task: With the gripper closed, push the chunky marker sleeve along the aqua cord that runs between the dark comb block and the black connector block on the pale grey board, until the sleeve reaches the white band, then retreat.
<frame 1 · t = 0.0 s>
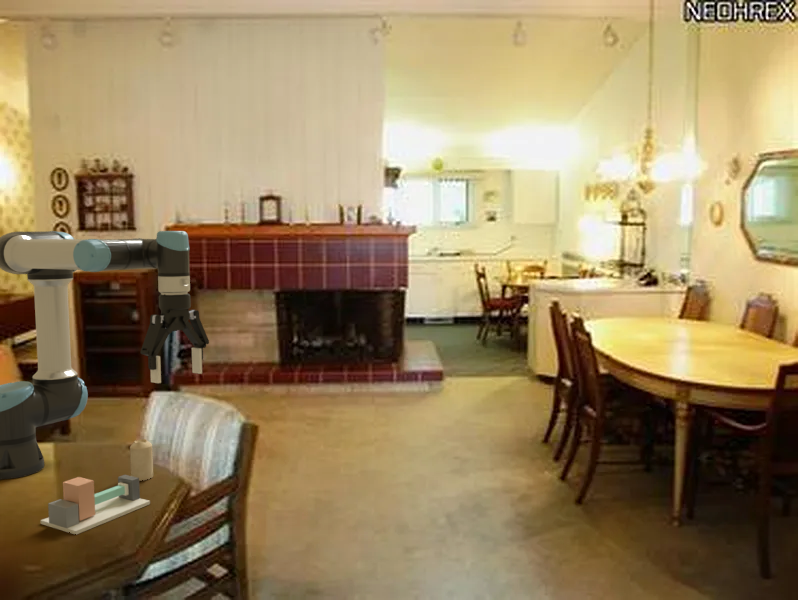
hand: (177, 377, 181), 28 cm above the table, fingers open, 13 cm apart
candle: (142, 478, 190), on the table
board: (97, 513, 166), on the table
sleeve: (79, 498, 161), point 5 cm above the table, slide at 0.0 cm
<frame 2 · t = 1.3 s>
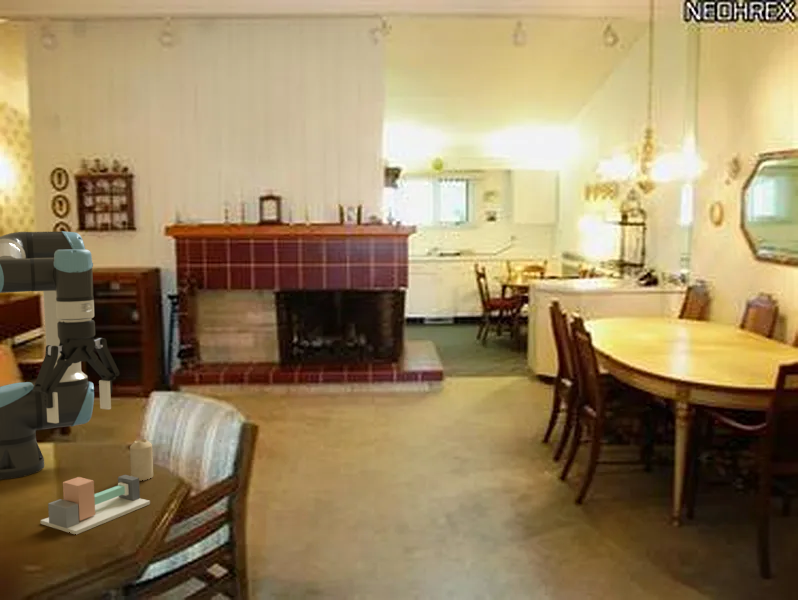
hand: (80, 415, 159), 24 cm above the table, fingers open, 13 cm apart
nothing on the table moved.
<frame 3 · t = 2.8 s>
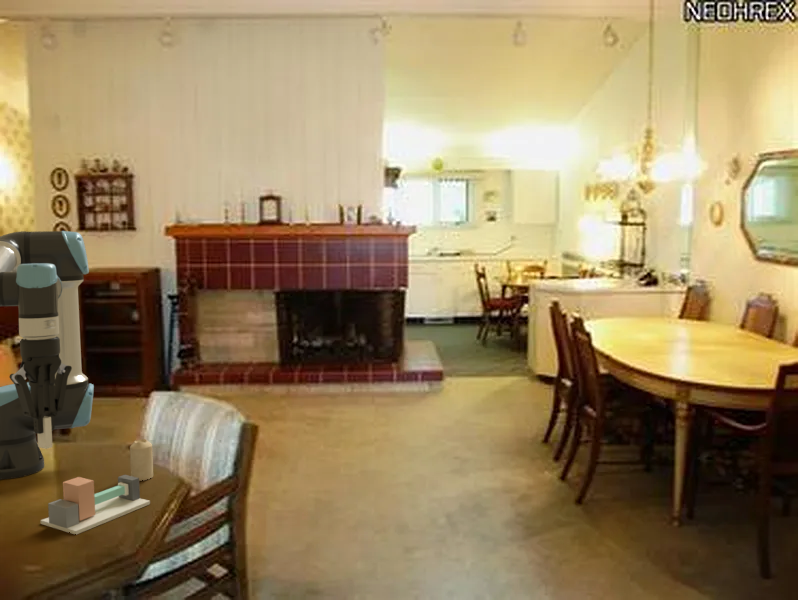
hand: (45, 446, 153), 19 cm above the table, fingers closed
nothing on the table moved.
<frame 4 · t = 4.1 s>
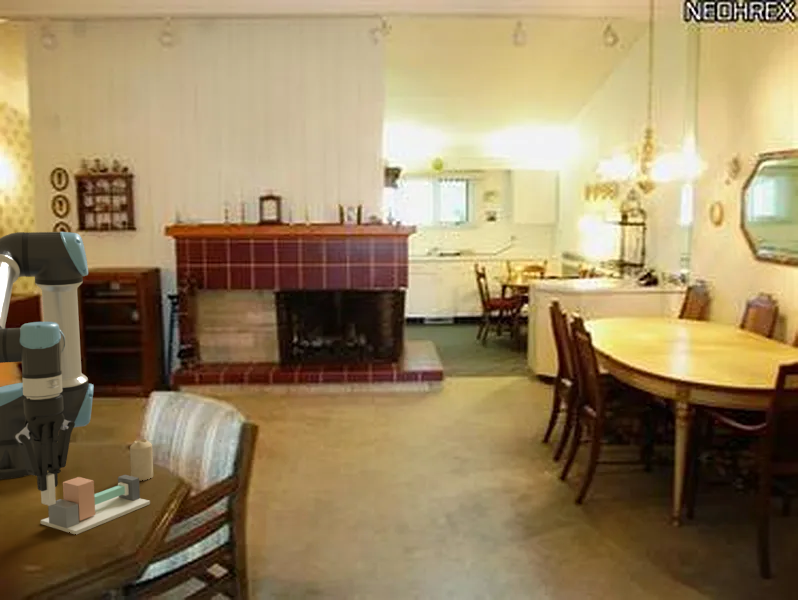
hand: (48, 503, 155), 6 cm above the table, fingers closed
nothing on the table moved.
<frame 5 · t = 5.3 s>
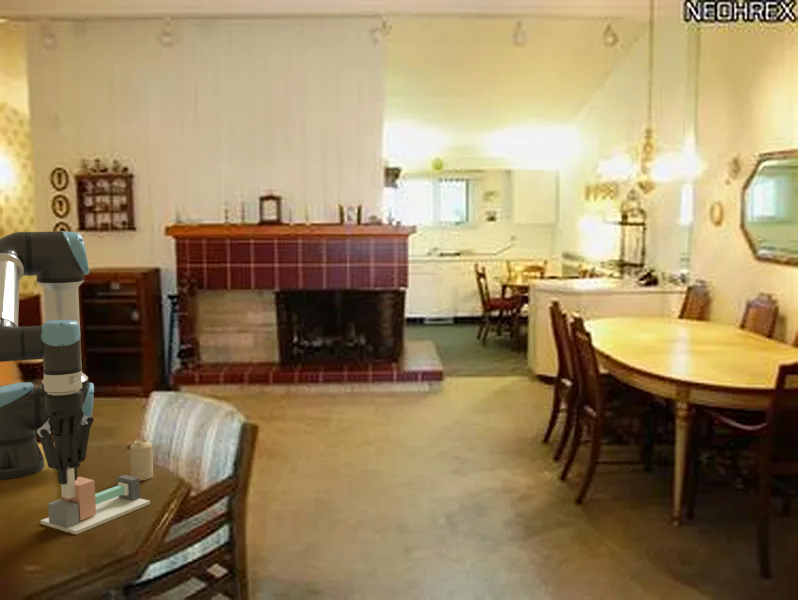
hand: (68, 496, 159), 6 cm above the table, fingers closed
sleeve: (79, 498, 161), point 5 cm above the table, slide at 0.2 cm, touching gripper
everything else where it was.
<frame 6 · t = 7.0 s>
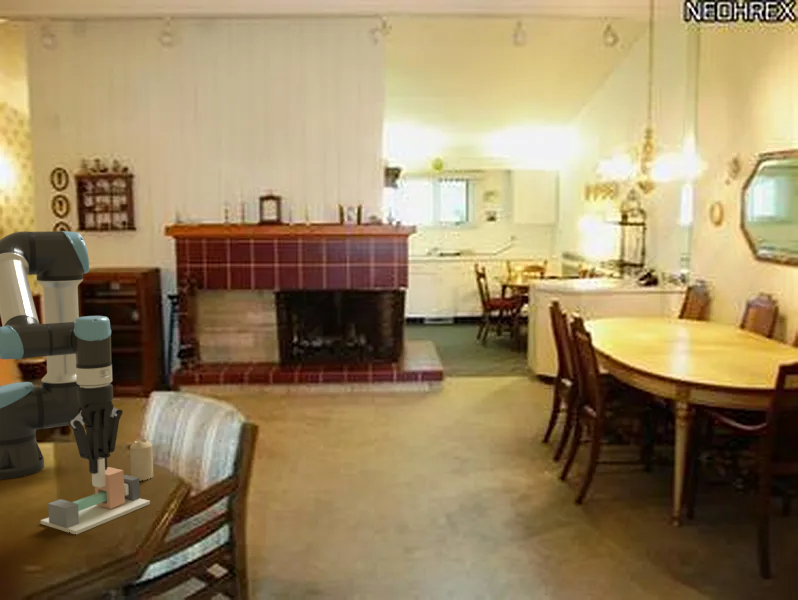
hand: (99, 485, 166), 6 cm above the table, fingers closed
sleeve: (109, 487, 168), point 5 cm above the table, slide at 8.1 cm, touching gripper
everything else where it was.
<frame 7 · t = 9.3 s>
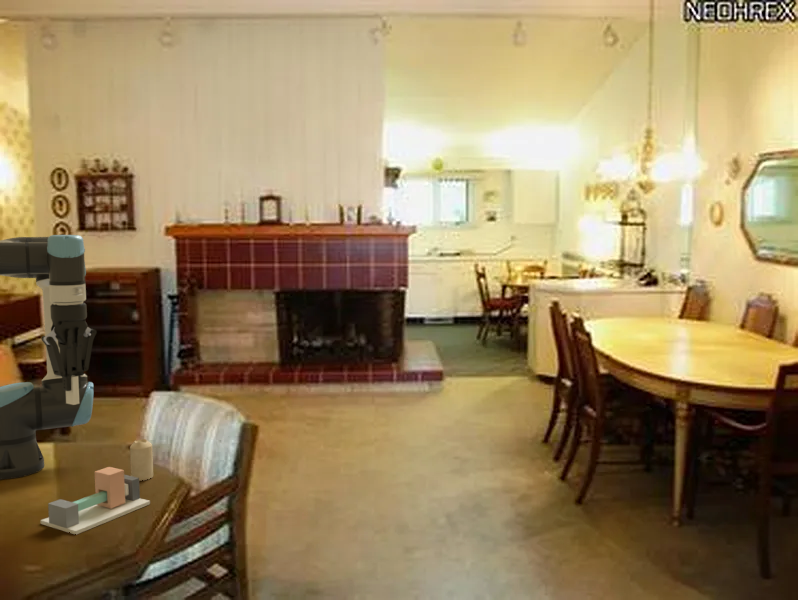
hand: (72, 403, 168), 25 cm above the table, fingers closed
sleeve: (109, 487, 168), point 5 cm above the table, slide at 8.2 cm
everything else where it was.
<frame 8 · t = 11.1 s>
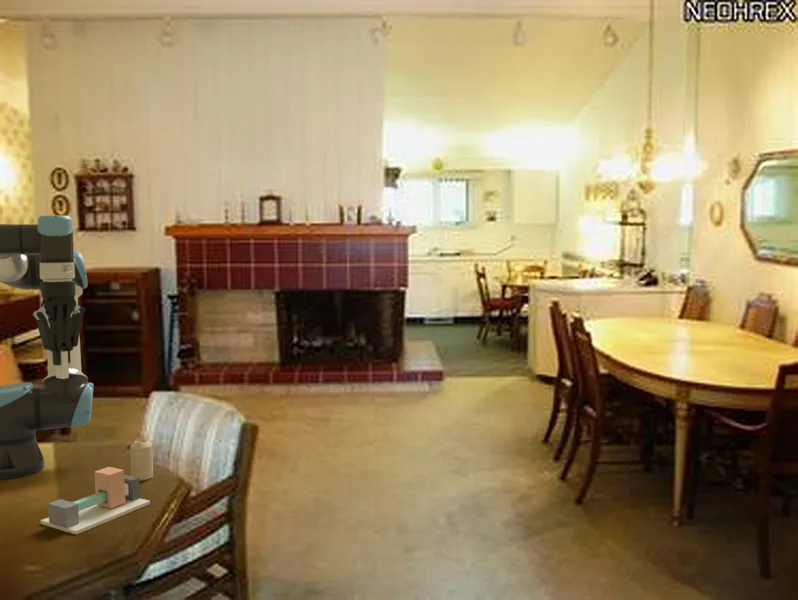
hand: (62, 377, 174), 29 cm above the table, fingers closed
nothing on the table moved.
at the end: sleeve slide at 8.2 cm; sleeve touching nothing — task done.
